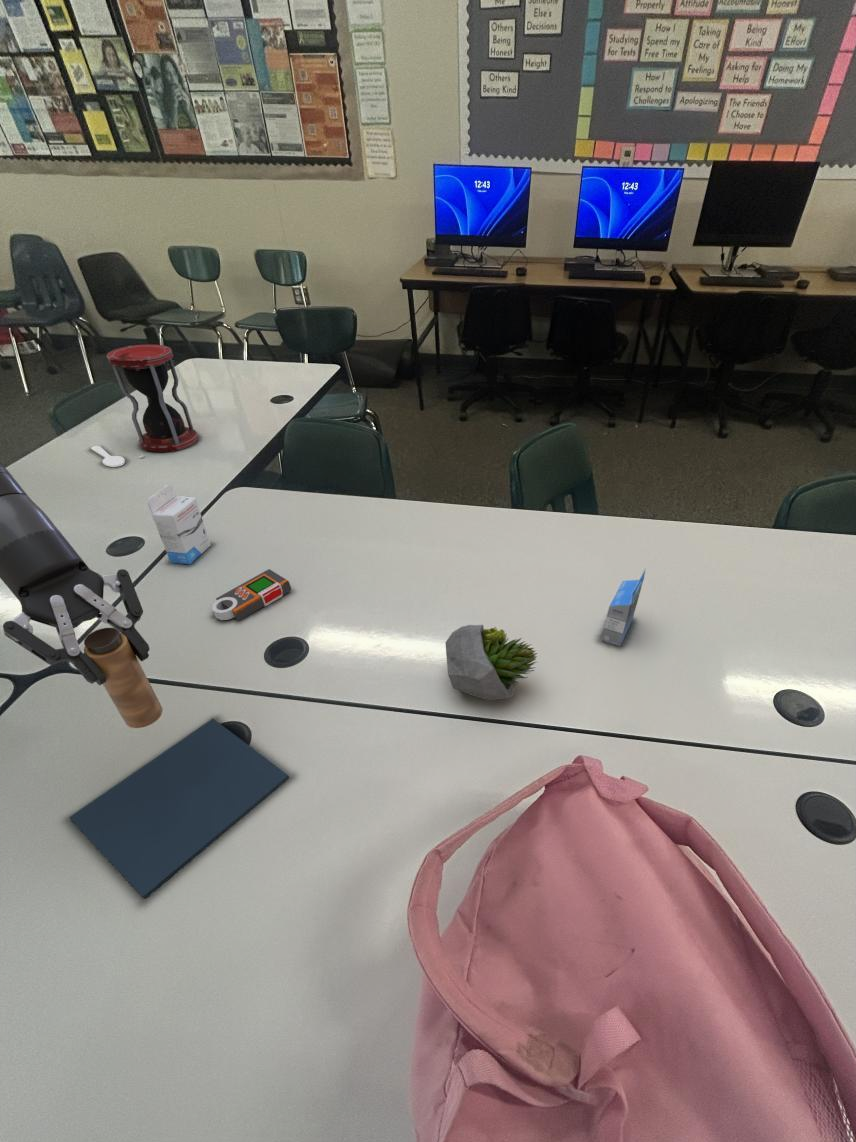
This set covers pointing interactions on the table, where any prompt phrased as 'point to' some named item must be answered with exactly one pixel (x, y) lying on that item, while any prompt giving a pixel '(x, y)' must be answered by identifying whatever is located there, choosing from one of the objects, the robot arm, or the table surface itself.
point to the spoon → (109, 457)
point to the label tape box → (622, 611)
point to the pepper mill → (123, 677)
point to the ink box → (179, 525)
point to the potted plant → (486, 661)
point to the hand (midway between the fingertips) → (124, 669)
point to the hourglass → (153, 397)
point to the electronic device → (251, 596)
